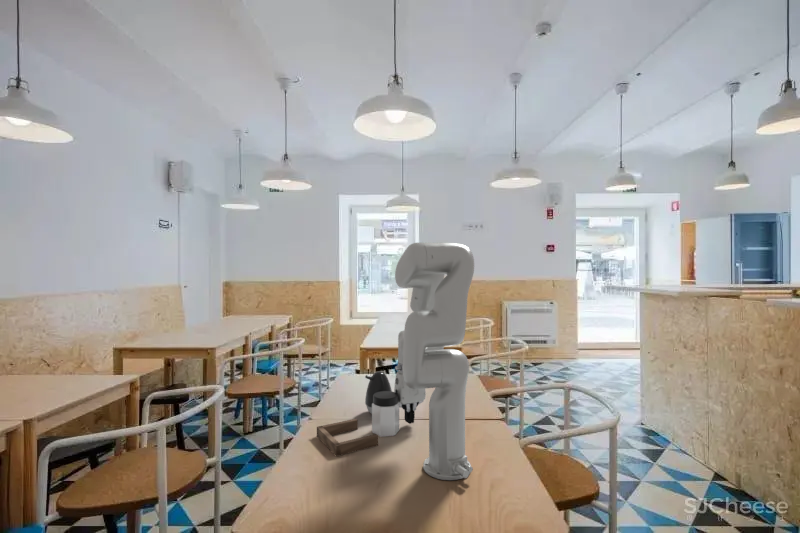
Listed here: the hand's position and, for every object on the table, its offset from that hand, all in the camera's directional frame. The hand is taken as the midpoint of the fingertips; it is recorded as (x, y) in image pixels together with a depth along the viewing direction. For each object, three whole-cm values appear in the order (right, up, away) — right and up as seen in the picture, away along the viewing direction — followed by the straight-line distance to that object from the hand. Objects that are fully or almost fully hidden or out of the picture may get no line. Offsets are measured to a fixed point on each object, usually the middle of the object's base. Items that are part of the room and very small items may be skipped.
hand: (409, 421), depth 139 cm
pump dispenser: (-11, -2, +12) cm, 16 cm away
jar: (-8, -2, -5) cm, 9 cm away
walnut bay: (-19, -1, -11) cm, 22 cm away
